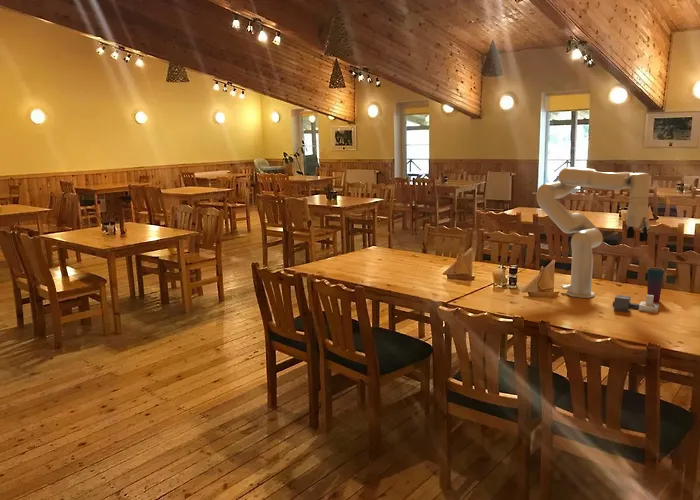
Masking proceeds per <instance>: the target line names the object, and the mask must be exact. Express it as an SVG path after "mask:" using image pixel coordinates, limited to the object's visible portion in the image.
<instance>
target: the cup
mask: <svg viewBox="0 0 700 500" xmlns="http://www.w3.org/2000/svg"><path fill="white" fill-rule="evenodd" d="M664 272H665V269H664V268H662V267H647V284H646V285H647V291H646V292H647V294H648V295H654V298H653V303H659V302H660V299H661V294H662V288H663V287H662V286H663V280H664V274H665V273H664ZM647 294H646V295H647Z"/></svg>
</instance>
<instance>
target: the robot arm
mask: <svg viewBox="0 0 700 500" xmlns="http://www.w3.org/2000/svg"><path fill="white" fill-rule="evenodd" d="M557 176H558V177H557V178H558V180H557V181H550V182H549V181H548V182H545V183H543V184H541V185H540V186H538V188H537V191H536V202H537V204H538V206H539V208H540V209H541V211H543V212H544V213H545V214H546V215H547V216H548V218H550V220H551V221H552V222H553V223H554V224H555V225H556V226H557V227H558V228H559V229H560V230H561V232H563V233H565V234H567V235H568V234H572V237H571V239H570V246H571V270H570V284H568V285H567V284H561V285H560V287H561V289H562V290H567V291H566V295H568V296H569V297H572V298H578V299H579V298H580V299H590V298H593V297H595V295H596V294H595V292H594V291H592V286H593V285H592V283H593V272H594V271H593V270H594V255H593V249H594V248H597V247H599V246H601V244H602V243H603V239H604V238H603V234H602V232H601V231H600V229H599V228H598V227H596V226H595V224H594V223H593V222H592V221H591V220H590V219H589V218H588V217H587V216H585V214H582V213H580V212H570V211H569V210H568V209H567V208H566V207H565V206H564V204H562V203H561V202H559V201H558V199H562V198H564V197H566V196H567V195H568V194H569V193H571V192H572V191H573V190H575V189H576V188H577V187H581V188H582V187H584V188H591V189H598V190H607V191H608V190H610V191H619V190H626V189H629V203H628V205H627V210H626V217H625V226H626V239H634V238H635V228H637V229H638V228H639V231H640V232H639V240H638V241H639V242H643V243H644V242H648V233H649V230H650V227H651V222H650V221H649V206H648V205H649V197H650V196H649V194H650V180H651V176H650V173H648V172H634V173H633V172H630V171H622V172H602V171H597V170H596V169H595V168H582V167H579V166H571V167H564V168H562V169H561V170H560V171H559V173H558V175H557ZM573 233H574V234H573Z"/></svg>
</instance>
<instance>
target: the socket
mask: <svg viewBox="0 0 700 500" xmlns="http://www.w3.org/2000/svg"><path fill="white" fill-rule="evenodd" d="M631 297H632V296H631V295H625V294H616V295H615V297H614V301H615V302H614V306H613V312H620V313H629V311H630V310H631V308H630V303H631Z"/></svg>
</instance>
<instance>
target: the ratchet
mask: <svg viewBox="0 0 700 500" xmlns="http://www.w3.org/2000/svg"><path fill="white" fill-rule="evenodd" d="M653 298H654V295H648V294H646V295H645V301H642V300H641V301H640V302H639V303H638V302H637V303H635V302H630V309H633V310H634V309H635V310H638V311H639V312H646V313H655V314H658V311H659V309H660V303H659V302H653ZM614 302H615V300H613V301H612V306H613V307H614Z"/></svg>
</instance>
